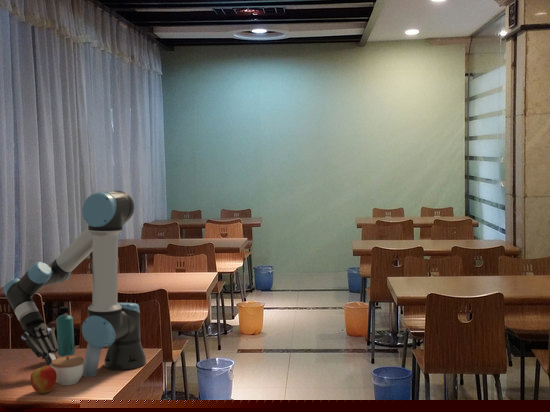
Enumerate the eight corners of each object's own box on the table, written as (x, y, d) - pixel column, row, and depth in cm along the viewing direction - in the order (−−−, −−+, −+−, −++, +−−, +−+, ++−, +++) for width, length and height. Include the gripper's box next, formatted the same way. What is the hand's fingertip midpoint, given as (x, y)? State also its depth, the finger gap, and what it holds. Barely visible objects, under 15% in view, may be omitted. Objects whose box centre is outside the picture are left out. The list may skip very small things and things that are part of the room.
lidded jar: (68, 389, 241) (66, 361, 241) (45, 384, 247) (44, 357, 246) (91, 380, 250) (90, 353, 250) (69, 376, 256) (68, 350, 255)
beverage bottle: (72, 360, 278) (70, 308, 277) (55, 360, 278) (53, 308, 277) (77, 355, 285) (75, 305, 284) (60, 356, 285) (58, 305, 284)
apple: (49, 396, 233) (48, 366, 233) (26, 395, 235) (25, 365, 234) (61, 389, 241) (60, 359, 241) (39, 388, 243) (38, 358, 242)
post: (98, 374, 259) (104, 342, 258) (92, 378, 255) (98, 346, 253) (85, 370, 260) (91, 338, 259) (79, 374, 255) (85, 342, 254)
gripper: (41, 320, 269) (69, 372, 259) (8, 326, 259) (36, 381, 249) (49, 307, 265) (77, 359, 255) (16, 313, 255) (44, 368, 245)
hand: (57, 370), depth 252 cm, fingers closed
